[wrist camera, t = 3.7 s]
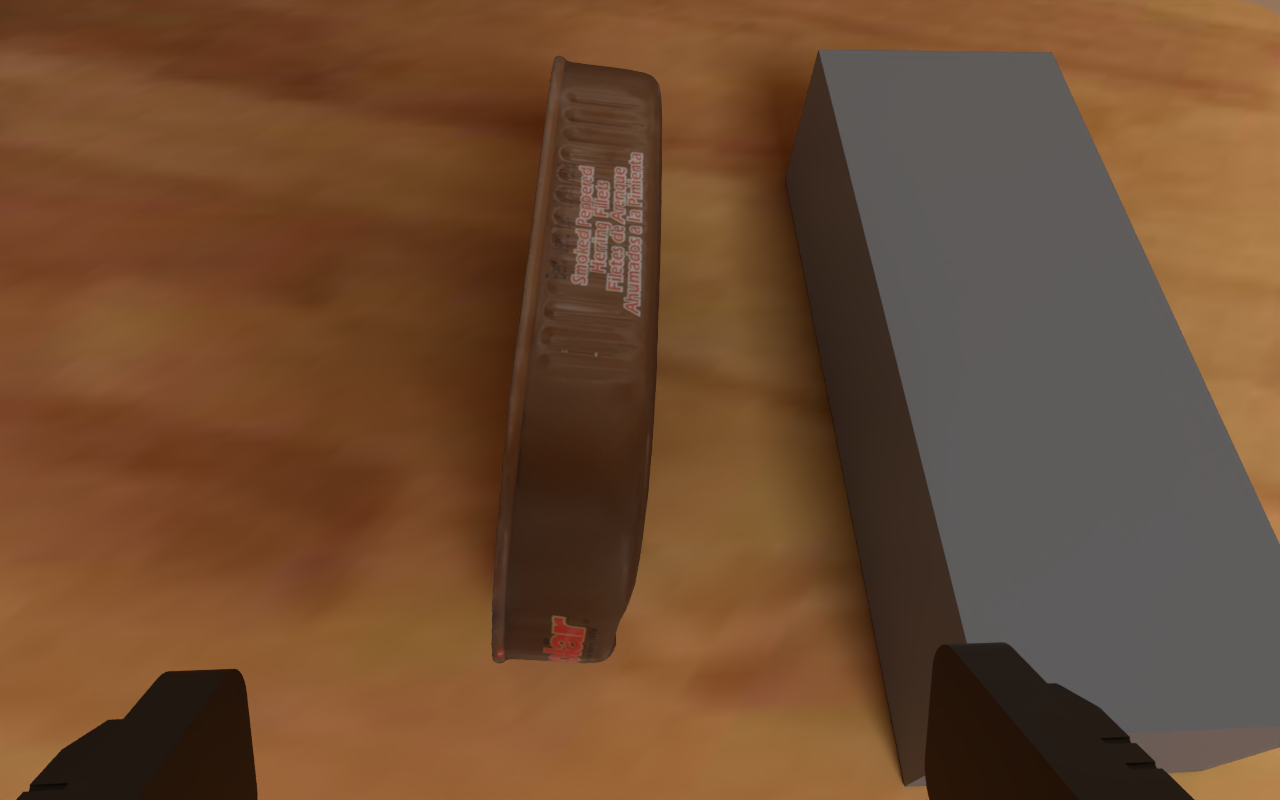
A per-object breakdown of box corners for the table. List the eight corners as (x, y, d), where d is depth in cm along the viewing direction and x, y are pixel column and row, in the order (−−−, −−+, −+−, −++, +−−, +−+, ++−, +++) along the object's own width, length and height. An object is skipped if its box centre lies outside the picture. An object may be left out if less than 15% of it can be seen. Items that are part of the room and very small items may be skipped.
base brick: (904, 786, 20) (991, 740, 16) (785, 177, 30) (818, 49, 26) (1201, 770, 21) (1361, 721, 16) (987, 178, 31) (1051, 52, 26)
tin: (548, 221, 29) (538, -24, 21) (647, 228, 29) (669, -15, 22) (492, 707, 21) (444, 573, 13) (628, 713, 21) (653, 584, 14)
